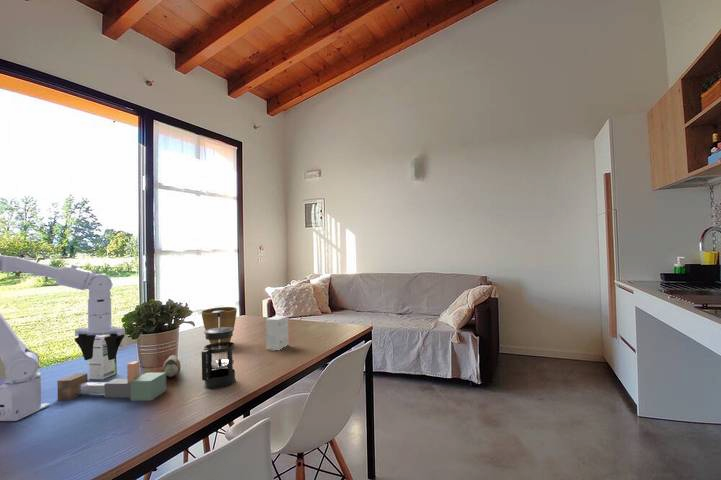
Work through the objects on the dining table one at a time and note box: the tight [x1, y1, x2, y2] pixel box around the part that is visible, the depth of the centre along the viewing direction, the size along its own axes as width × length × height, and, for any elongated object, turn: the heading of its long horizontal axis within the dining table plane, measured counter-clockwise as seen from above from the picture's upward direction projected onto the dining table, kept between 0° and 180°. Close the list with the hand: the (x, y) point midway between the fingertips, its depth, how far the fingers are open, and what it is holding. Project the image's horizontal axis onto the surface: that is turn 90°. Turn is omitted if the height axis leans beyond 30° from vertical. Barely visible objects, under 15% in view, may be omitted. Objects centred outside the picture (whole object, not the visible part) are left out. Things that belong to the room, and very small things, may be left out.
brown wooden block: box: [56, 372, 89, 401], centre depth 108 cm, size 4×6×6 cm, turn 176°
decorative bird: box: [162, 354, 182, 383], centre depth 122 cm, size 5×16×8 cm, turn 25°
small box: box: [264, 315, 290, 351], centre depth 154 cm, size 8×6×13 cm
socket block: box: [130, 372, 167, 401], centre depth 106 cm, size 6×7×6 cm
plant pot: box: [200, 306, 238, 348], centre depth 161 cm, size 15×15×16 cm
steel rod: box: [76, 381, 108, 395], centre depth 107 cm, size 13×2×2 cm, turn 86°
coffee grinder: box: [201, 310, 237, 390], centre depth 114 cm, size 12×9×23 cm
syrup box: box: [88, 335, 118, 380], centre depth 124 cm, size 6×6×14 cm
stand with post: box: [104, 360, 141, 399], centre depth 106 cm, size 13×4×9 cm, turn 86°
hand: (100, 359), depth 108 cm, fingers open, 7 cm apart
